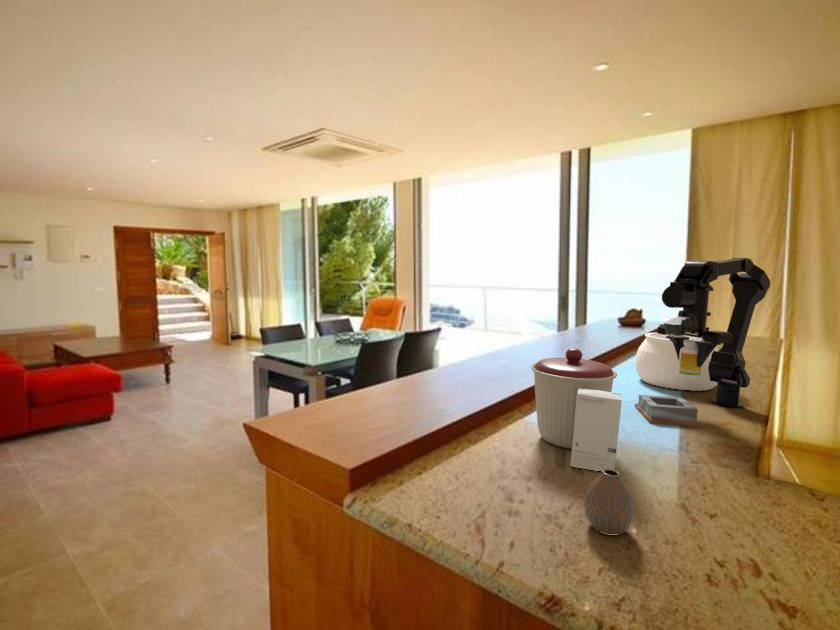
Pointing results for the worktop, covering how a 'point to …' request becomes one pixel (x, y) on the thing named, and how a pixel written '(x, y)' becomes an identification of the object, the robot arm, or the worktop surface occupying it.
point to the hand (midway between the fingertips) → (689, 364)
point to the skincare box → (595, 429)
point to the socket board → (667, 410)
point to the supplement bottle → (689, 360)
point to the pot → (668, 365)
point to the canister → (565, 392)
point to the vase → (609, 503)
